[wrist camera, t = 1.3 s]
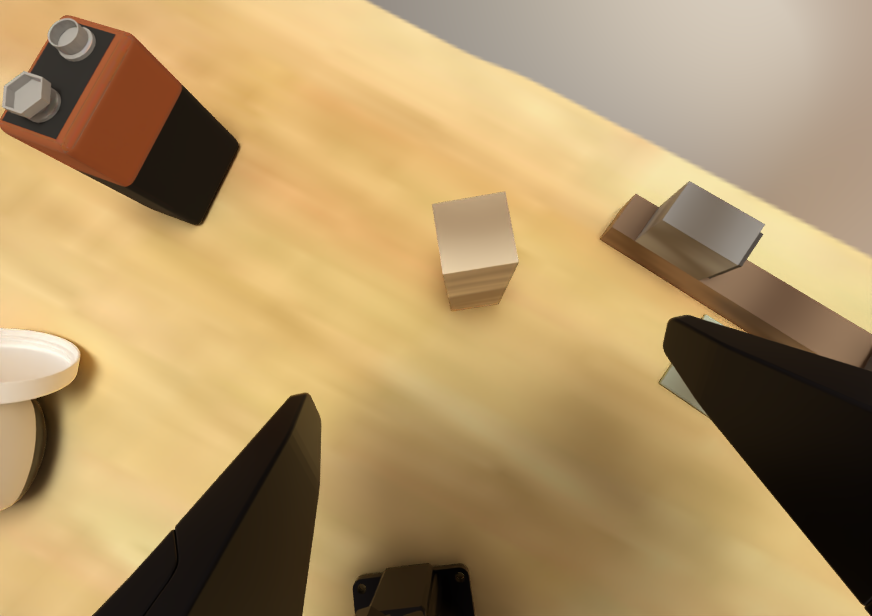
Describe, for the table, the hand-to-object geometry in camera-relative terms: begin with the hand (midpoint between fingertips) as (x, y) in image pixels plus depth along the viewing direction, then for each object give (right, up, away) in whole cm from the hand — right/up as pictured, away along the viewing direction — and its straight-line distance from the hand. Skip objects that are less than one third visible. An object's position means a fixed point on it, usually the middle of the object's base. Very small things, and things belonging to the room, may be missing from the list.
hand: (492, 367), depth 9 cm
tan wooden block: (+1, +3, +15) cm, 15 cm away
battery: (-18, +11, +18) cm, 28 cm away
